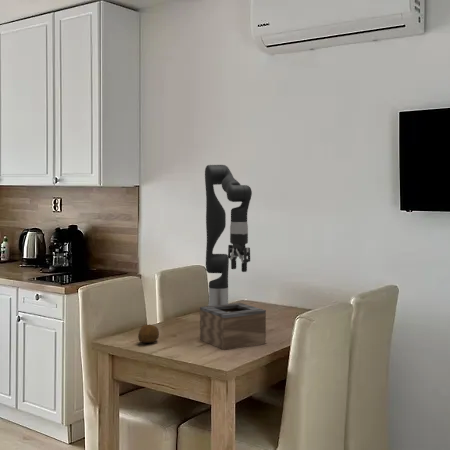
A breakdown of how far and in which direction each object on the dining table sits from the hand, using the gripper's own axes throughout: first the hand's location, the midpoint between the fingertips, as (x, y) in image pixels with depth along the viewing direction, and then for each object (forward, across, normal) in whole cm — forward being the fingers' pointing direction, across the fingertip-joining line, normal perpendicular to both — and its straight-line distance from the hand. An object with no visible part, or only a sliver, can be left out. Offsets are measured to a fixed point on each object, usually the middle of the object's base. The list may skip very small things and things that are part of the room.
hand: (238, 270), depth 266 cm
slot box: (+29, +3, -5) cm, 30 cm away
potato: (+30, -12, -36) cm, 48 cm away
